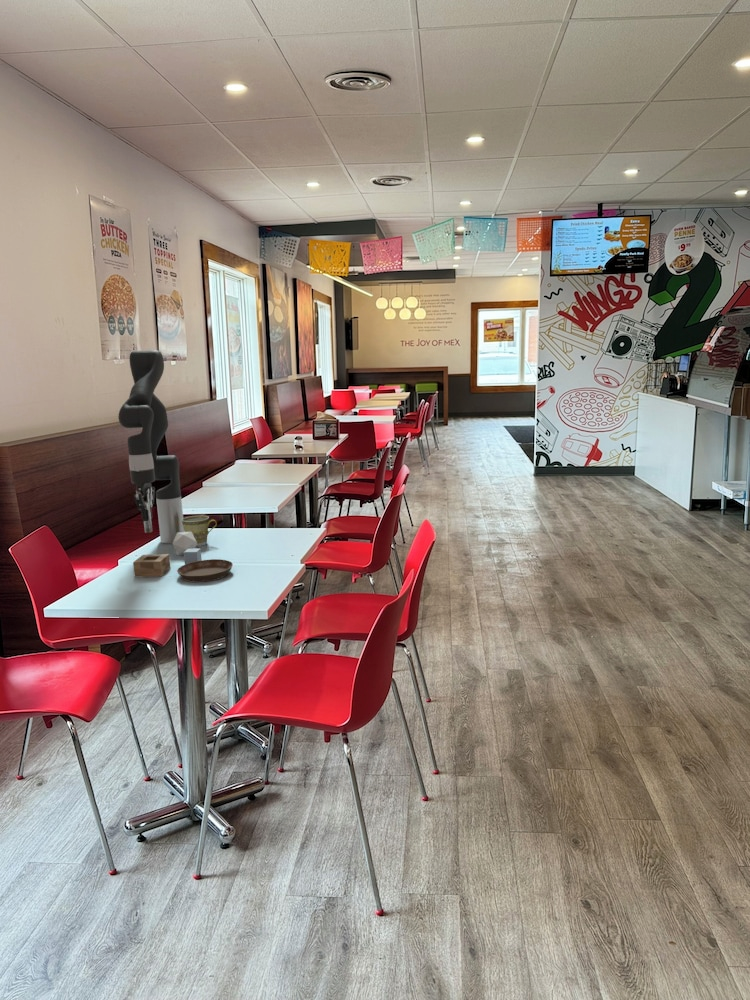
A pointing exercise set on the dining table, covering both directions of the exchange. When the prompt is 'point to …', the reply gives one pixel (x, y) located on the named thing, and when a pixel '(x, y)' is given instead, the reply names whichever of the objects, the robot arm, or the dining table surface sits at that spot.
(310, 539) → the dining table surface
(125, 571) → the dining table surface
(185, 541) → the die
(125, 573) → the dining table surface
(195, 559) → the slate block
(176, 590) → the dining table surface
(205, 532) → the ceramic cup
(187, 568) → the plant saucer
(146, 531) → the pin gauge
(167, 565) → the bore block
